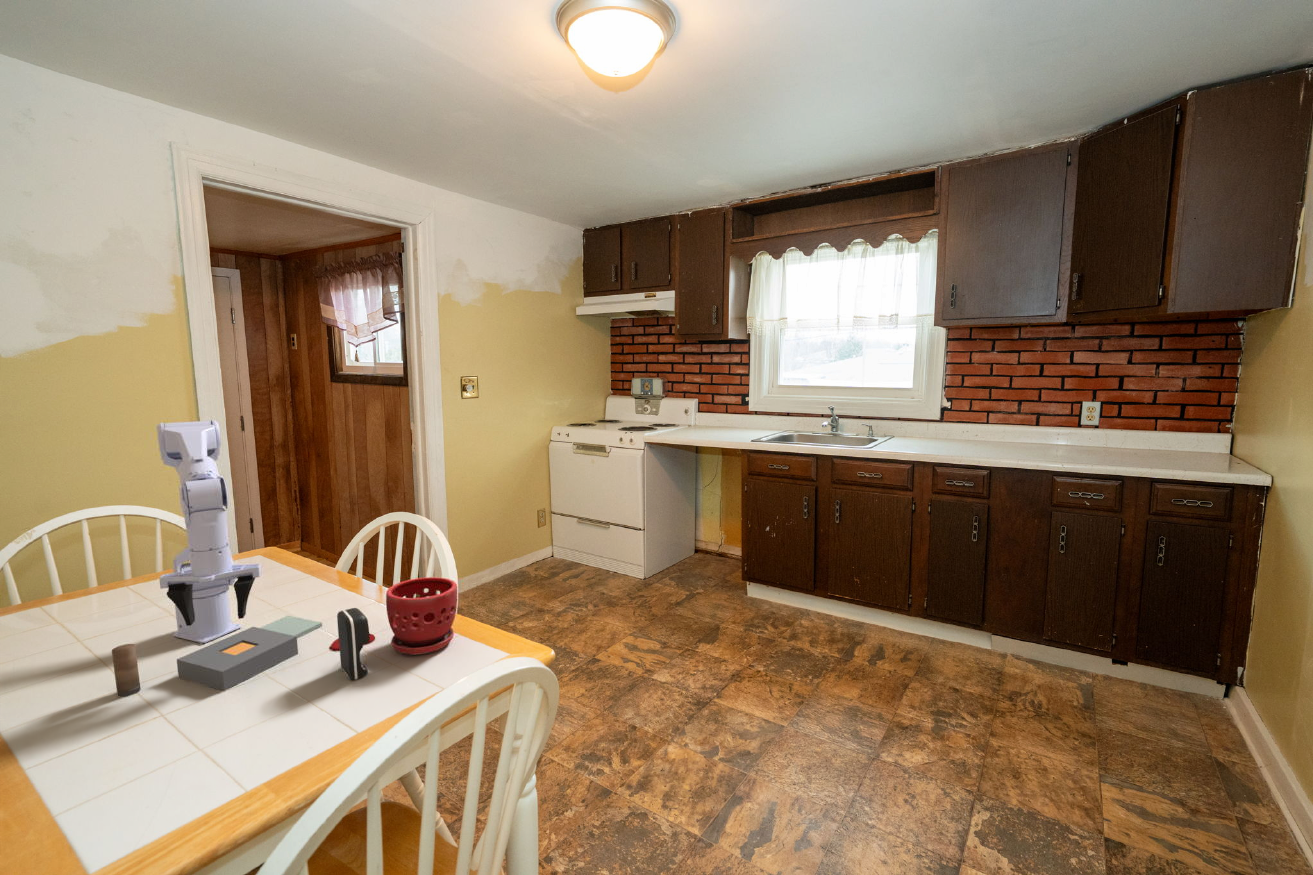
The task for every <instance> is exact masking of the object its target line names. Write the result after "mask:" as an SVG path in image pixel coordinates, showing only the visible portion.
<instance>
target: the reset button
mask: <svg viewBox="0 0 1313 875" xmlns="http://www.w3.org/2000/svg"><path fill="white" fill-rule="evenodd" d="M254 646H255V645H251V644H247V643H240V644H238V645H236V646H233V647H231V648H229V649H227V650H224V651H222V652H224V653H228V654H232V655H237V654H239V653H241V652H244V651H246V650H248V649H250V648H252V647H254Z"/></svg>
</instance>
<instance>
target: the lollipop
mask: <svg viewBox="0 0 1313 875" xmlns="http://www.w3.org/2000/svg"><path fill="white" fill-rule="evenodd" d="M369 635H370V640H369V642H368V643H366V644H363V646H367V645H369V644H372V643H373V642H375V641H376V637H375V635H374V634H373V633H370V632H369ZM329 649H330V650H331V651H332V652H333V651H334V652H340V647H339V637H338V638H336V639H335V640H334V641H332V643H331V645H330V647H329Z"/></svg>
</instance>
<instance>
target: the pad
mask: <svg viewBox="0 0 1313 875" xmlns="http://www.w3.org/2000/svg"><path fill="white" fill-rule="evenodd" d="M322 627H323V622H320V621H316V620H311V619H306V618H301V617H297V616H292V615H286V616H284V617H282V618H279V619H277V620H275V621H274V620H273V621H272V622H270V623H268V624H265V625H263V626H261V627H260V628H261V629H266V630H270V631H275V632H279V633H283V634H288V635H292V636H297V639H298V638H301V637H302V636H305V635H307V634H309V633H311V632H313V631H316V630H318V629H320V628H322Z"/></svg>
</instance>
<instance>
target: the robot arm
mask: <svg viewBox="0 0 1313 875" xmlns="http://www.w3.org/2000/svg"><path fill="white" fill-rule="evenodd" d="M156 430H157V440H158V447H159V448H158V449H159V452H160V457H161V458H160V460H161V461H162V463H163V465H165V466H168V467H172V468H174V469H175V471H176V473H177V474H178V477H179V481H180V485H179V487H178V488H179V489H178V490H179V491H178V492H179V500H180V508H181V512H182V514H183V518H184V523H185V531H186V538H187V546H186V547H185V548H184V549H183V550H181V551H180V552H179V553H177V554H176V555H175V556H174V559H173V560H172V565H173V568H172V573H164V574H162V575H161V576H160V577H159V579H158V580H159V586H160V590H161V589H167V591H166V596H167V598H169V600H171V601H172V603H173V604H174V607H175V608H174V609H175V616H176V617H175V618H176V619H175V620H176V627H177V631H175V632H174V633H172V635H173V637H176V638H181V639H184V640H187V641H188V640H189V641H191V642H196V643H200V644H206V643H208V642H210V641H212V640H215V639H218V638H219V637H222V636H225V635H227V634H229V633H232V632H235V631H236V630H239V629H241V628H242V627H243V625H242V624H240V623H234V622H232V616H231V607H230V606H231V605H230V597H229V591H230V586H233V588H234V593H235V597H236V602H237V605H236V606H237V617H238V619H239V620H241V619H244V618H245V616H246V614H247V613H246V612H247V605H248V601H249V600H248V599H249V596H250V592H251V590H252V587H253V584H254V583H255V580H256V578H260V577H261V575H262V563H255V564H254V563H253V564H251V563H250V564H249V563H248V564H235V563H234V559H233V556H232V551H231V550H230V549H231V548H230V539H229V528H228V518H227V510H228V509H229V491H228V486H227V482H226V480H225V477H224V476H222V475H220V472H219V469H218V466H217V465H218V464H217V462H216V461H218V459H219V455H220V452H221V445H222V442H221V432H220V431H221V430H220V425H219V423H218V421H217V420H215V419H211V420H200V421H183V422H182V421H181V422H179V421H178V422H167V423H164V422H159V423H158V424H157V426H156ZM224 507H225V508H224ZM188 561H189V562H188ZM186 562H188V563H186ZM236 579H237V580H236Z"/></svg>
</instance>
